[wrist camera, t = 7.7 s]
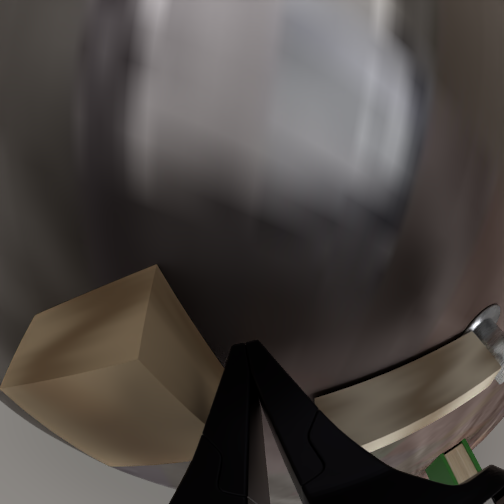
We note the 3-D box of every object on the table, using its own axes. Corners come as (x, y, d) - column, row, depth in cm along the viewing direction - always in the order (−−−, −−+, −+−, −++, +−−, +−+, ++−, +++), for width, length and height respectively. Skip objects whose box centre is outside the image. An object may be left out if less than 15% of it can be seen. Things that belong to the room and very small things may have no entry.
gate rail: (472, 330, 14) (501, 367, 11) (463, 350, 15) (489, 385, 12) (314, 398, 13) (334, 455, 10) (314, 414, 14) (332, 465, 11)
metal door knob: (506, 295, 14) (542, 332, 10) (486, 339, 16) (515, 375, 12) (468, 318, 14) (506, 364, 10) (448, 362, 16) (477, 404, 12)
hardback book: (439, 454, 42) (473, 528, 21) (464, 438, 42) (500, 508, 21) (425, 469, 51) (451, 530, 30) (446, 456, 51) (474, 515, 30)
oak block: (157, 260, 9) (138, 358, 5) (227, 370, 12) (238, 452, 8) (36, 311, 9) (-1, 388, 6) (117, 396, 12) (109, 466, 9)
